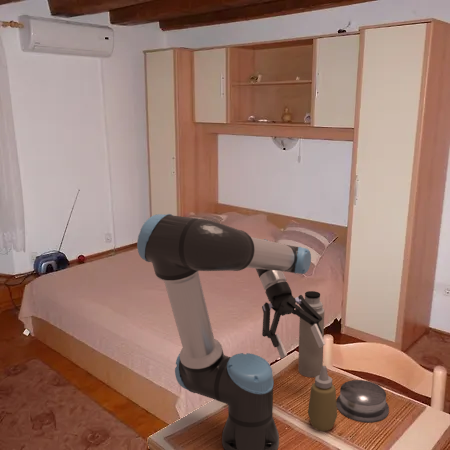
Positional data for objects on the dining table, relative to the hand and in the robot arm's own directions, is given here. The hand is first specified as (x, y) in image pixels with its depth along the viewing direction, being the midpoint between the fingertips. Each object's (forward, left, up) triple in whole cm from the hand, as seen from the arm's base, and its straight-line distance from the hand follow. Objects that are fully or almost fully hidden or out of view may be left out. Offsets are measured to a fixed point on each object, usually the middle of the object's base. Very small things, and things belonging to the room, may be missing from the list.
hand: (303, 351), depth 142 cm
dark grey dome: (+18, 0, -18) cm, 25 cm away
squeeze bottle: (+5, -9, -18) cm, 21 cm away
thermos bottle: (+5, +20, -18) cm, 27 cm away
